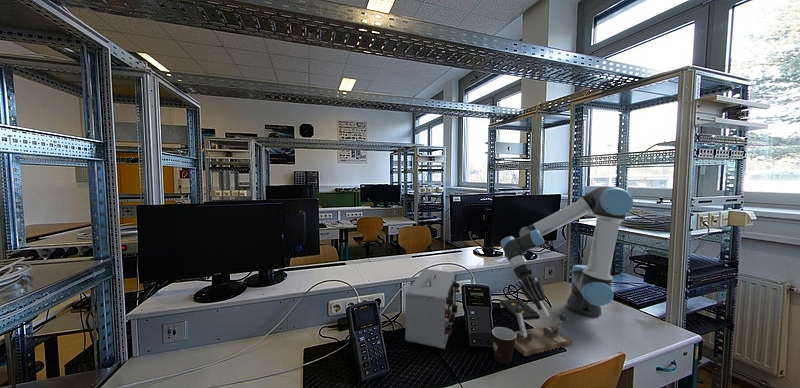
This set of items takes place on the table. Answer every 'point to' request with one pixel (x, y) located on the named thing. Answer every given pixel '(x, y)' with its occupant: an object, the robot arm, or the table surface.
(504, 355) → the coffee mug
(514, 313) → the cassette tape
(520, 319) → the lever
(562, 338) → the switch base
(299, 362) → the table surface
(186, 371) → the table surface
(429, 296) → the vintage electronic device
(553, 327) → the lever
